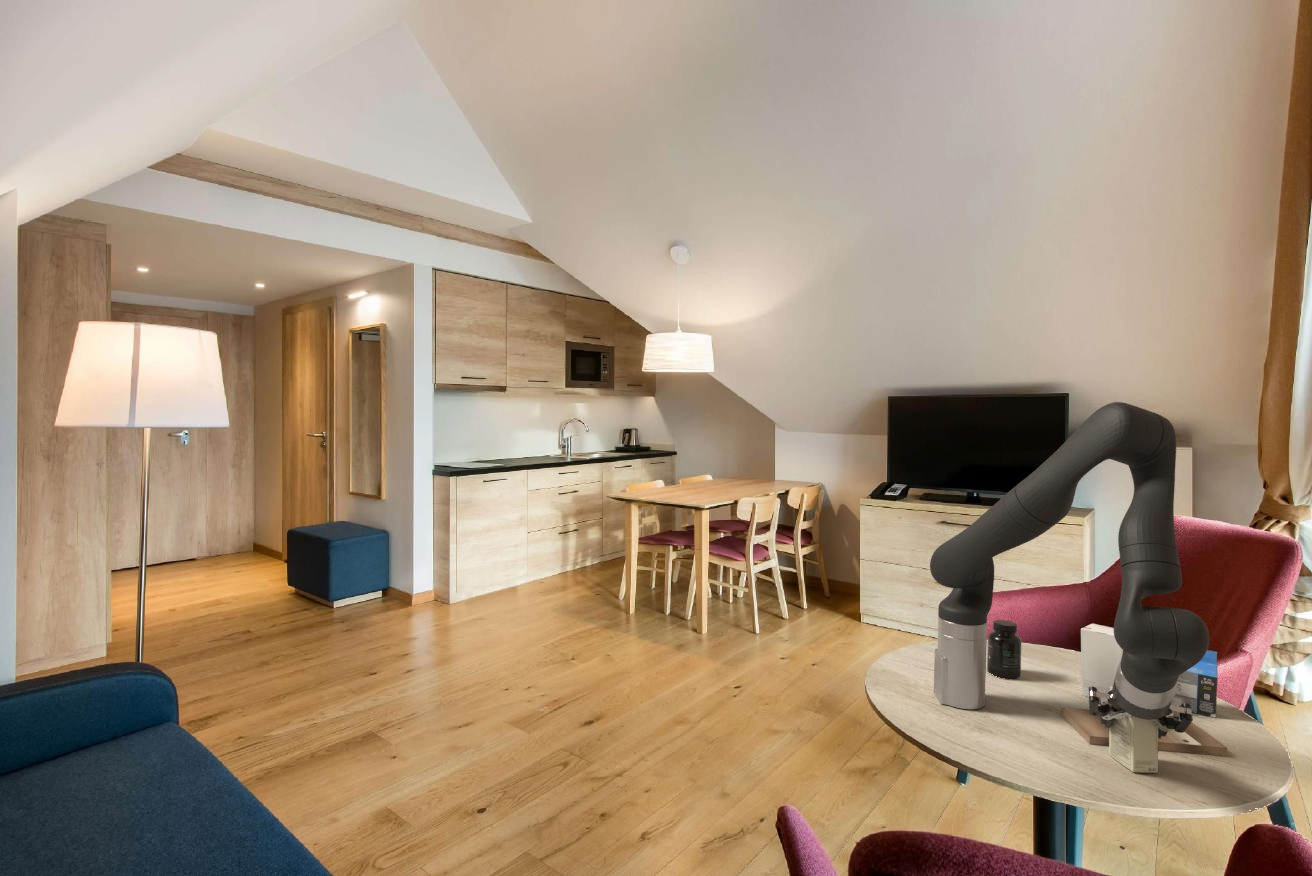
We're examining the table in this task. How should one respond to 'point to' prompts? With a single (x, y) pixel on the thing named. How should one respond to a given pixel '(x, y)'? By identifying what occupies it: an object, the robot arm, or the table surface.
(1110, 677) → the skincare box
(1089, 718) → the subfloor panel
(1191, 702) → the label tape cartridge
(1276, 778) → the table surface
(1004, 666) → the supplement bottle
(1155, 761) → the skincare box
